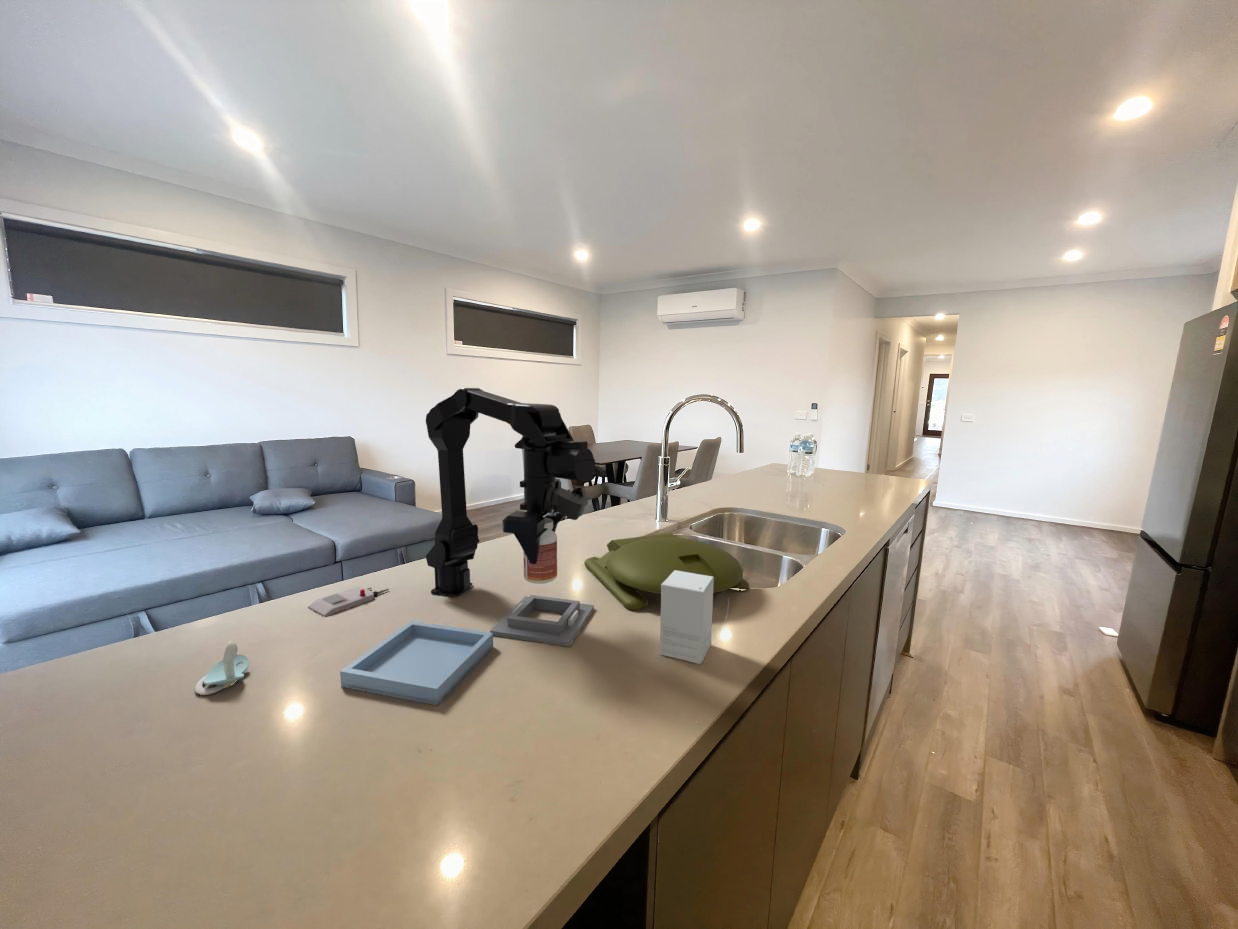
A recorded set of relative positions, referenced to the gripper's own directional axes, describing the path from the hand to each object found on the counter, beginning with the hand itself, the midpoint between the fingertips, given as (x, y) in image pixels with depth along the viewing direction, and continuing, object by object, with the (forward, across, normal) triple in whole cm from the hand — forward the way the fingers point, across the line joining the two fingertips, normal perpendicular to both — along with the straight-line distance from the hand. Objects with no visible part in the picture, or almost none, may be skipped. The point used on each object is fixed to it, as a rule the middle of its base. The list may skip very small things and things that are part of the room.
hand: (540, 557), depth 89 cm
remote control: (+14, -2, +42) cm, 44 cm away
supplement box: (+13, -2, -28) cm, 31 cm away
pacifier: (+13, -30, +38) cm, 50 cm away
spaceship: (+14, +27, -21) cm, 36 cm away
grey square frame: (+13, +1, -1) cm, 13 cm away
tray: (+13, -18, +12) cm, 26 cm away
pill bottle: (+4, 0, 0) cm, 4 cm away
